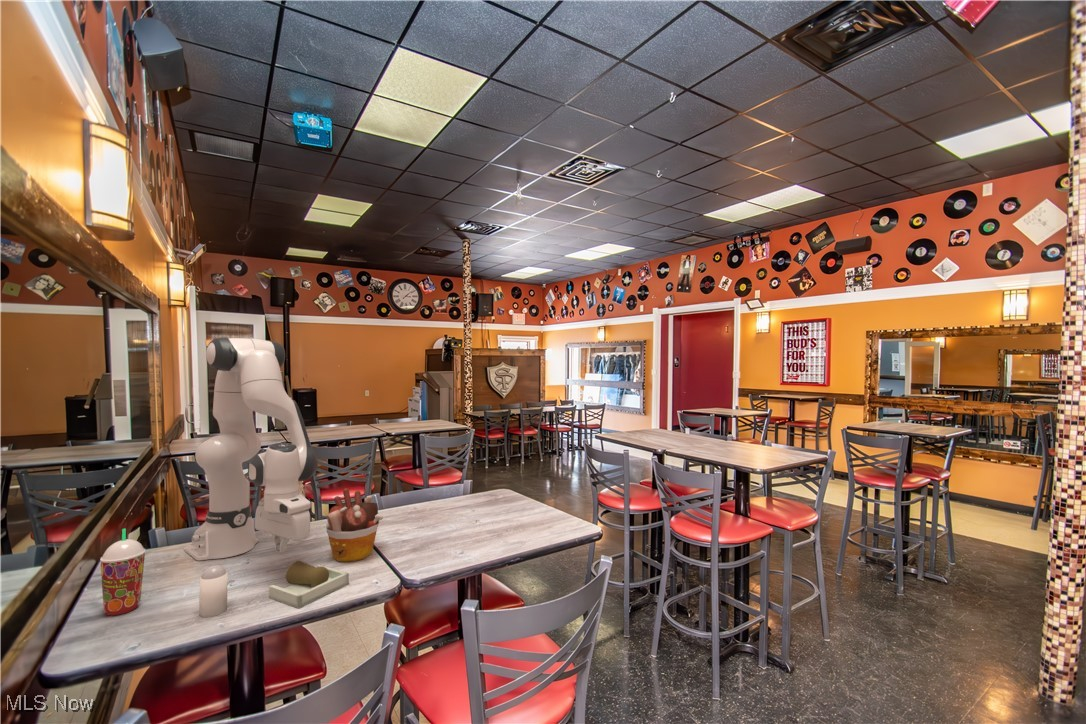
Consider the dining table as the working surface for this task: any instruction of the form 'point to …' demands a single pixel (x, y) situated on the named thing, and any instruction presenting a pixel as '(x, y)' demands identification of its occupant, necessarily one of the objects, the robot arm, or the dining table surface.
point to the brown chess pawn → (306, 574)
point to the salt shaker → (213, 591)
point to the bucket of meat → (352, 527)
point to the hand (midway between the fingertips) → (280, 550)
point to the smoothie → (122, 575)
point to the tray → (309, 589)
